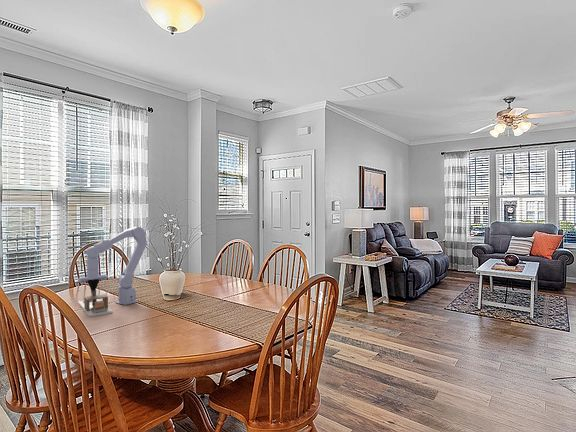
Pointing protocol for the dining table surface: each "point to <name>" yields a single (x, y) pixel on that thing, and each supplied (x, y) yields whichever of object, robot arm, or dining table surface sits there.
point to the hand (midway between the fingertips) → (93, 293)
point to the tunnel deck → (88, 302)
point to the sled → (93, 304)
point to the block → (98, 305)
